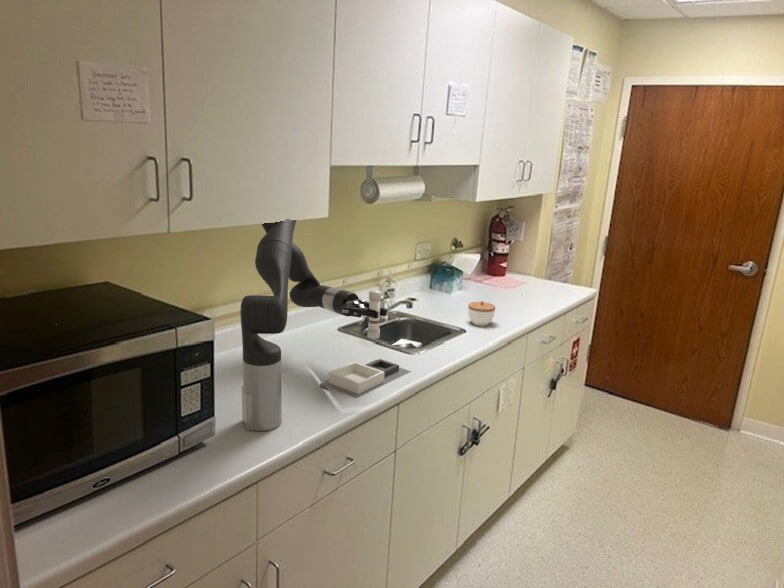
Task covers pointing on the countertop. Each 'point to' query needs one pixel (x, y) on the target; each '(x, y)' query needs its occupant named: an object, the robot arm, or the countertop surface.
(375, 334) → the white capped peg
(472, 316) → the lidded jar
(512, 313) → the countertop surface
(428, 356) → the countertop surface
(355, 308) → the robot arm
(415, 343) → the hard drive
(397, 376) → the grey board with tray
